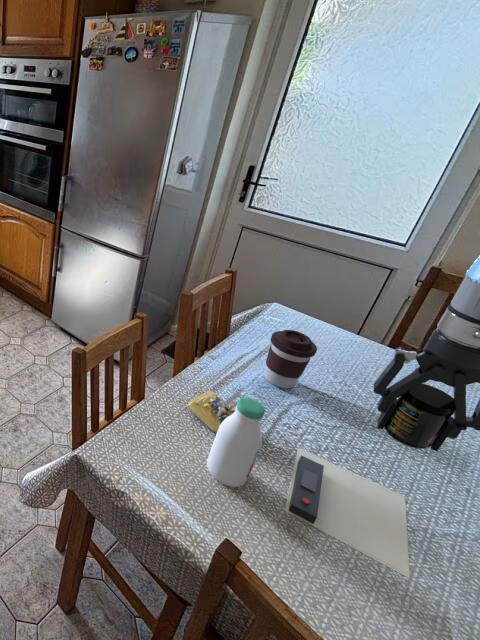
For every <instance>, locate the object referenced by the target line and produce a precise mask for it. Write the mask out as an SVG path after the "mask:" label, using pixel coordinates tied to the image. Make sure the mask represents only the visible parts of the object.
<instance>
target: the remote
mask: <svg viewBox="0 0 480 640" xmlns="http://www.w3.org/2000/svg"><path fill="white" fill-rule="evenodd" d="M323 469H324V466H323V465H321V464H319V463H317V462H315V461H312V460H310V459H308V458H306V457H304V456H302V455H301V457H300V459H299V461H298V465H297V470H296V476H295V481H294V486H293V491H292V496H291V501H290V506H289V511H290V512H292V513H294V514H296V515H298V516H300V517H301V518H303V519H305V520H307V521H309V522H311V523H312V524H314V522H315V520H316V518H317V514H318V506H319V499H320V491H321V484H322V476H323Z"/></svg>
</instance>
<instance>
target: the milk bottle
mask: <svg viewBox="0 0 480 640" xmlns="http://www.w3.org/2000/svg"><path fill="white" fill-rule="evenodd" d="M236 404H237V405H236V406H235V412H234V413H233V414H232V415H230V416H229V417H227V418H226V419H225V420H224V421H223V422H222V423H221V425H220V427H219V429H218V431H217V432H216V435H215V437H214V440H213V443H212V445H211V449H210V450H209V451H210V452H209V454H208V457H207V460H206V467H207V470H208V472H209V473H210V475H211V476H212V477H213V478H214V479H215V480H216V481H217V482H219V483H220V484H223V485H224V486H228V487H231V488H241V487H242V486H244V485H245V484H246V483H247V481H248V479H249V477H250V474H251V472H252V470H253V468H254V465H255V463H256V460H257V458H258V456H259V453H260V450H261V447H262V442H263V436H262V435H263V434H262V430H261V426H260V422H261V421H262V420H263V417H264V416H265V412H266V411H265V410H266V409H265V407H264V405H263V404H262V403H261V402H259V401H258V400H256V399H255V398H252V397H251V398H250V397H240V398H239V399H238V400H237V403H236Z"/></svg>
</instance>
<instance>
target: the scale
mask: <svg viewBox="0 0 480 640" xmlns="http://www.w3.org/2000/svg"><path fill="white" fill-rule="evenodd" d="M301 455H302V456H304V457H306V458H308V459H310V460H312V461H315V462H317V463H319V464H321V465H323V466H324V469H323V476H322V484H321V491H320V499H319V506H318V514H317V518H316V520H315V522H314V524H312V523H311V522H309V521H307V520H305V519H303V518H301V517H300V516H298V515H296V514H294V513H292V512H290V511H289V506H290V501H291V496H292V491H293V486H294V481H295V476H296V470H297V465H298V461H299V459H300V457H301ZM285 504H286V505H285V510H284V511H285V512H286V513H288V514H290V515H292V516H293V517H295V518H297V519H299V520H300V521H302V522H304V523H306V524H308V525H310V526H312V527H314V528H316V529H317V530H319V531H321V532H323V533H324V534H326V535H328V536H329V537H331V538H333V539H336V540H337V541H340V542H341V543H343V544H345V545H347V546H349V547H350V548H352V549H354V550H356V551H357V552H359V553H361V554H363V555H365V556H366V557H369V558H370V559H372V560H375V561H376V562H378V563H379V564H381V565H383V566H386V567H387V568H389V569H391V570H392V571H395V572H397V573H398V574H400V575H402V576H404V577H406V578H407V579H409V580H411V573H410V572H411V570H410V556H409V555H410V554H409V538H408V522H407V519H408V518H407V503H406V495H404V494H401V493H399V492H396V491H394V490H393V489H390V488H388V487H386V486H383V485H381V484H379V483H377V482H375V481H372V480H371V479H368V478H366V477H364V476H362V475H360V474H358V473H355V472H353V471H351V470H349V469H346V468H344V467H342V466H340V465H337V464H335V463H333V462H331V461H329V460H327V459H325V458H322V457H320V456H319V455H316V454H313V453H311V452H309V451H308V450H305V449H303V448H301V447H297V450H296V455H295V461H294V465H293V469H292V475H291V480H290V485H289V489H288V495H287V499H286V503H285Z"/></svg>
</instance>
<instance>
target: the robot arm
mask: <svg viewBox="0 0 480 640" xmlns="http://www.w3.org/2000/svg"><path fill="white" fill-rule="evenodd" d="M436 326H437V328H435V329H433V331H432V333H431V334H430V337H429V338H428V340H427V341H426V343H425V345H424V346H423V348H421V349H418V350H417V351H409V350H405V349H404V348H403V347H400V346H399V347H398V346H397V347H396V348H395V349H394V356H393V358H392V360H391V361H390V362H389V363H388V364H387V365H386V367H385V368H384V369H383V371H382V372H381V373H380V375H379V376H378V377H377V379H376V380H375V382H374V383H373V393H374V394H376V395H380V396H381V398H380V400H379V401H378V403H377V411H378V412H380V414H379V416H378V418H377V421H376V422H377V423H376V427H377V429H379V430H381V431H383V430H384V429H385V428H384V426H385V425H386V423H387V421H388V420H389V418H390V416H391V415H392V413H393V411H394V409H395V408H396V406H397V400H398V398H399V397H400V396H402V395H403V394H405V393H406V392H407V391H410V390H411V389H413V388H415V387H416V386H418V385H420V384H421V383H422V384H426V383H427V382H429V381H433V382H436V383H437V382H438V383H441V384H444V385H446V386H447V387H452V388H453V398H454V403H455V407H456V408H457V409H456V410H455V412H454V414H453V416H454V417H453V416H451V417H450V419H449V420H448V422H447V423H446V424H445V426H444V427H443V429H442V430H441V432H440V433H439V435H438V436H437V438H436V439H435V441H434V442H433V444H432V445H431V446H430V450H432V451H435V452H438V451H439V450H440V448H441V447H442V445H443V444H444V442H445V441H446V440H447V438H448V439H451V440H455V439H457V438H458V436H459V435H460V434H461V433H462V431H466V430H467V429H468V428H472V429H474V430H476V431H478V432H479V431H480V398H479V399H478V401H477V404H476V406H475V408H474V410H473V412H472V414H471V416H467V386H468V385H469V386H470V385H472V384H475V383H480V254H479V255H478V257H477V258H476V259H475V260H474V262H473V263H472V265H471V266H470V267H469V268H468V270H466V272H465V276H464V278H463V279H462V282H461V283H460V285H459V286H458V289H457V291H456V292H455V294H454V296H453V297H452V299H451V301H450V303H449V304H448V306H447V307H446V309H445V310H444V313H443V314H442V316H441V318H440V319H439V321H438V323H437V324H436ZM413 360H416V362H417V364H418V367H416V368H415V369H414V371H412V372H411V373H409V374H407V375H406V376H404V377H403V378H401V379H399V380H398V381H396V382H395V383H394V384H392V385H390V384H391V383H392V382H393V380H394V379H395V378H396V377H397V375H398V374H399V373H400V372H401V371H402V369H403V368H404V365H405V364H409V363H411V361H413ZM389 385H390V386H389ZM388 386H389V387H388Z"/></svg>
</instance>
